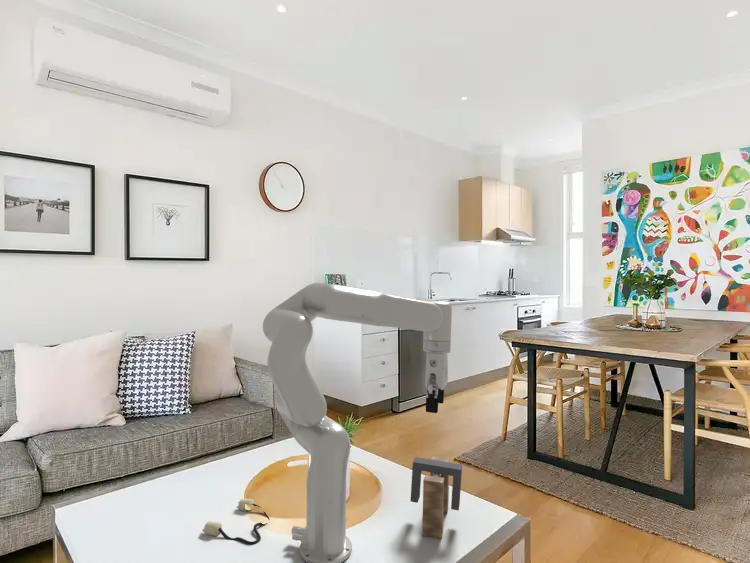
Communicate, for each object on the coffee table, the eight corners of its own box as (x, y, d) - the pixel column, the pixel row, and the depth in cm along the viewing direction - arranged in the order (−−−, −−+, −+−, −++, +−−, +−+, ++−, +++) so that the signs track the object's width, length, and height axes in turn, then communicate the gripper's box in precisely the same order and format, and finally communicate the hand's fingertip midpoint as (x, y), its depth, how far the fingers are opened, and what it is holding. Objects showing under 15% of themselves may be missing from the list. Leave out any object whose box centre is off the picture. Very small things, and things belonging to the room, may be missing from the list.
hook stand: (422, 535, 120) (423, 480, 120) (431, 505, 135) (432, 456, 135) (441, 538, 119) (442, 482, 118) (448, 507, 134) (449, 458, 134)
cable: (288, 517, 129) (288, 505, 128) (251, 551, 113) (251, 537, 113) (241, 505, 134) (242, 494, 134) (201, 536, 119) (201, 522, 119)
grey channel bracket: (410, 501, 127) (412, 461, 127) (412, 495, 130) (415, 456, 130) (458, 510, 124) (461, 470, 123) (459, 504, 127) (462, 464, 127)
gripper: (445, 352, 120) (443, 418, 120) (454, 342, 136) (452, 400, 136) (416, 349, 122) (414, 414, 122) (429, 340, 138) (427, 398, 139)
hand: (434, 407), depth 129 cm, fingers open, 9 cm apart
